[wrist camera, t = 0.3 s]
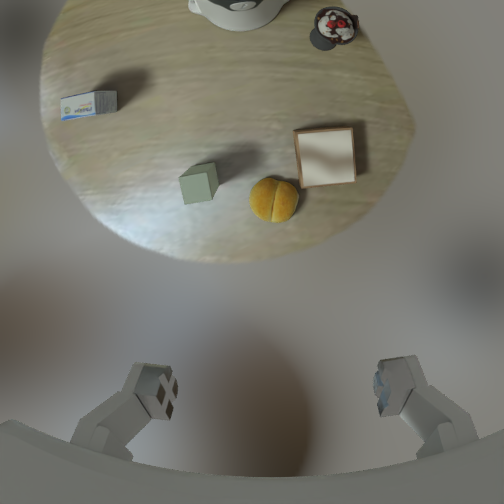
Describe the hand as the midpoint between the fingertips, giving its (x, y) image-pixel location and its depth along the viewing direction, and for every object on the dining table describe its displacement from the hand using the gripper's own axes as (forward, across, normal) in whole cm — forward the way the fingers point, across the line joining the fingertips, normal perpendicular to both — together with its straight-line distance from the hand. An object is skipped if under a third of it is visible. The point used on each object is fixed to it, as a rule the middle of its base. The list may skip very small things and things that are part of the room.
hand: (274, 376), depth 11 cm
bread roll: (+48, +1, +9) cm, 49 cm away
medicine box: (+47, +32, -14) cm, 58 cm away
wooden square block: (+48, -9, +1) cm, 49 cm away
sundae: (+49, -10, -21) cm, 54 cm away
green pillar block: (+47, +13, +4) cm, 49 cm away
